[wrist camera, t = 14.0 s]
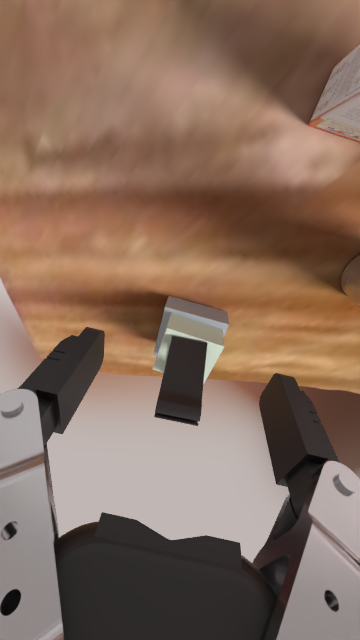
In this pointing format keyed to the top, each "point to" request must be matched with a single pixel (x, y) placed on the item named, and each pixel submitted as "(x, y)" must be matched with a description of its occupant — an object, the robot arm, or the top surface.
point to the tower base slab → (191, 316)
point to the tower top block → (192, 331)
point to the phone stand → (182, 382)
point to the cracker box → (341, 99)
